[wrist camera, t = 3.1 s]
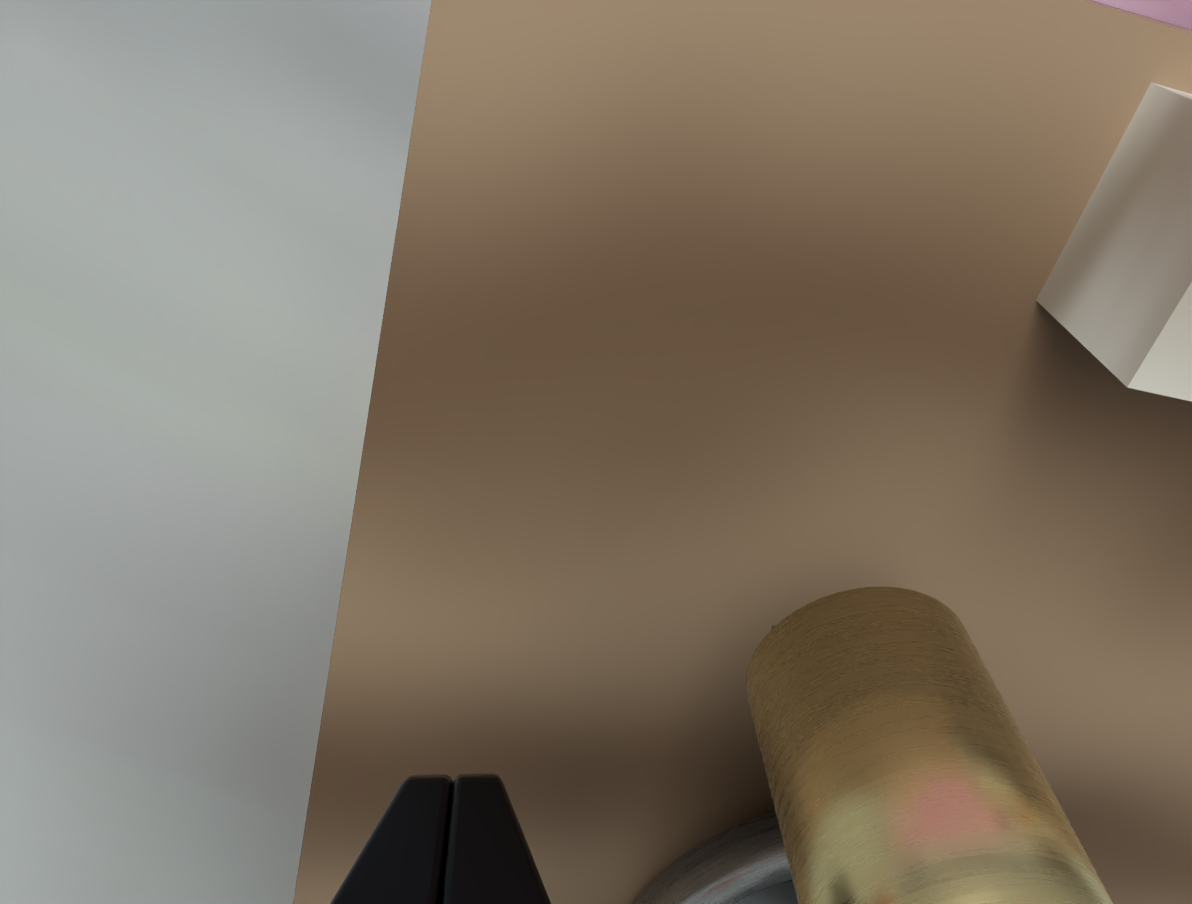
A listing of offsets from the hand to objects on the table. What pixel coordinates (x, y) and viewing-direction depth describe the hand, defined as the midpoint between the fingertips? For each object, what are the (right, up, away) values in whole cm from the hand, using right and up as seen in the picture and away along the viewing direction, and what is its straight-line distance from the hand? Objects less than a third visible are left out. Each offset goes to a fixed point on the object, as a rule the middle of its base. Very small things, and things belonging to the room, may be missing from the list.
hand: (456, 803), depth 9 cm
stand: (+7, -2, +9) cm, 11 cm away
